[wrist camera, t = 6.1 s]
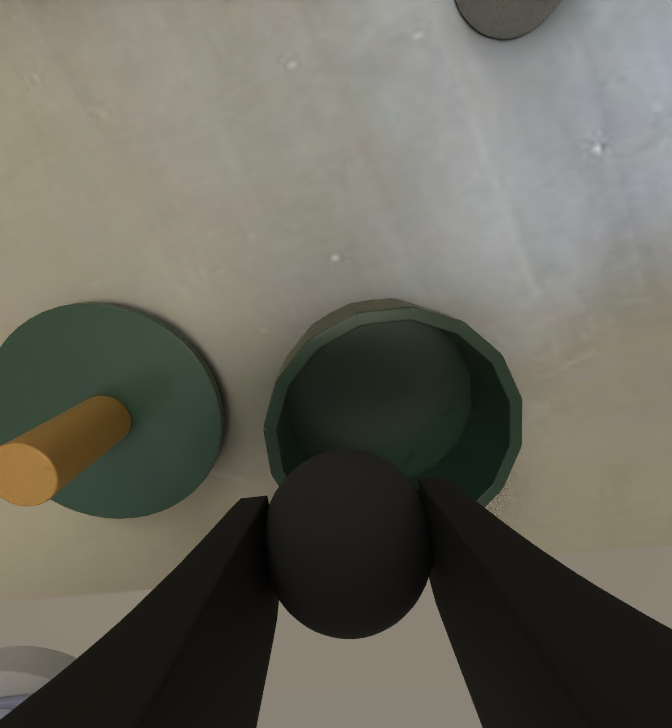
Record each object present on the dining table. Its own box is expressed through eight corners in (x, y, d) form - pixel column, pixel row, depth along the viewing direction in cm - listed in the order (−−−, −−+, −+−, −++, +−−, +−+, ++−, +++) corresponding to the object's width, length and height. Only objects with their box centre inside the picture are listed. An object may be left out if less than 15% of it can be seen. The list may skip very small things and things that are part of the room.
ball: (416, 537, 10) (462, 678, 7) (286, 551, 10) (263, 699, 7) (407, 415, 9) (455, 505, 6) (264, 431, 9) (226, 530, 6)
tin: (479, 476, 20) (521, 532, 16) (294, 497, 20) (285, 559, 16) (475, 287, 18) (523, 293, 13) (264, 312, 18) (245, 325, 13)
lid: (244, 493, 20) (209, 588, 14) (43, 516, 20) (-76, 620, 14) (204, 288, 17) (140, 297, 11) (-27, 315, 17) (-212, 338, 11)
